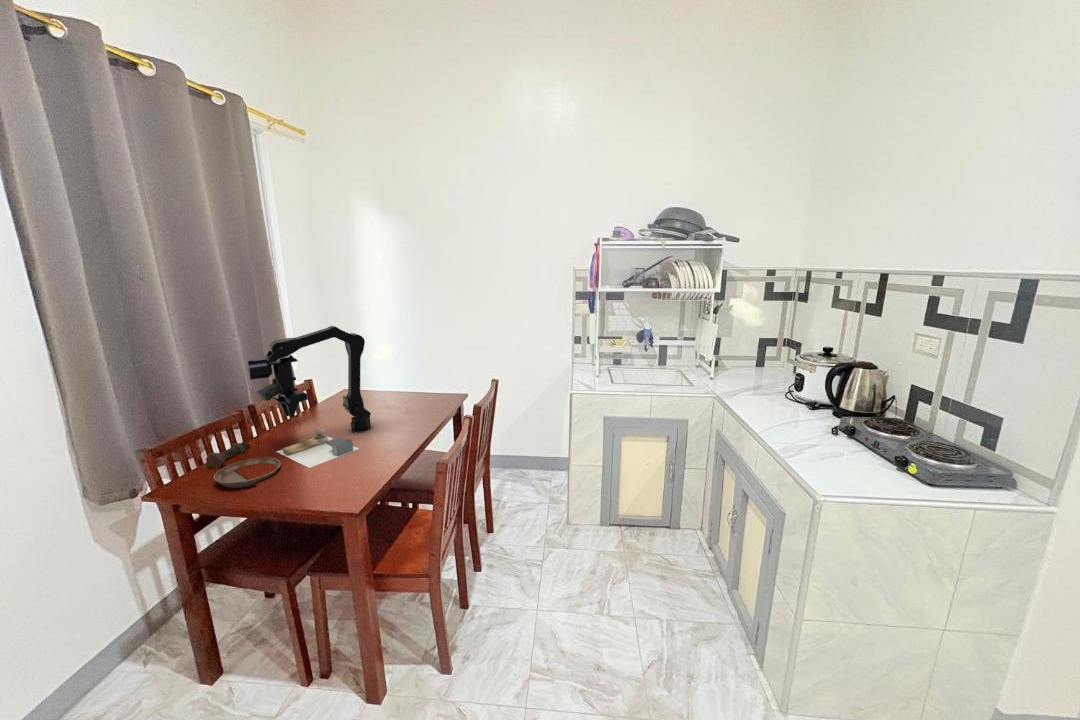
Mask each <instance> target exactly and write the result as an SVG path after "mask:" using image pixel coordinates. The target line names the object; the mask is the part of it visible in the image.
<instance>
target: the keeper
mask: <svg viewBox="0 0 1080 720" xmlns="http://www.w3.org/2000/svg"><path fill="white" fill-rule="evenodd" d="M327 445H329V446H332V453H333V455H335V456H339V457H341V456H340V455H342V456H344V455H343V454H345V453H347V454H349V453H348V452H350V451H352V452H354V451H353V445H354V444H353V440H352V439H349V438H344V437H342V436H338V437H335V438H333V439H332V440H329V441H327ZM350 453H351V452H350ZM345 455H346V454H345Z"/></svg>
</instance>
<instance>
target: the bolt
mask: <svg viewBox="0 0 1080 720" xmlns="http://www.w3.org/2000/svg"><path fill="white" fill-rule="evenodd" d="M250 448H251V443H250V442H247V441H241V442H236V443H235V442H234V443H232V444H231V445H230V448H228V449H226V450H223V451H221V452H211V453H208V454H207V456H206V459H205V461H206V465H207V466H208V467H209V468H210V467H220V466H222V465H223V466H224V463H225V462H226V461H227V460H229V459H231V458H233V457H235V456H237V455H239V454H242V453H244V452H246V450H248V449H250ZM223 466H222V467H223ZM220 468H221V467H220Z"/></svg>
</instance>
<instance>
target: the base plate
mask: <svg viewBox="0 0 1080 720" xmlns="http://www.w3.org/2000/svg"><path fill="white" fill-rule="evenodd" d="M324 435H325V434H324ZM325 436H327V438H328V441H329V440H332V439H334V438H333V437H330V436H328V435H325ZM358 450H360V447H359V448H358V447H355V446H353V451H350V452H348V453H345V454H343V455H340V456H335V455H333V453H332V446H329V445H327V442H326V443H323V444H318V445H315V446H312V447H309V448H306V449H303V450H301V451H298V452H295V453H292V454H289V455H287V454H285V453H283V448H282V449H280V450H277V451H275V452H276V453H278V454H280V455H282V456H284V457H286V458H288V459H289V460H290V459H291V460H292V461H294V462H296V463H298V464H300V465H303V466H304V467H307V468H309V469H310V468H312V467H313V468H314V467H315V466H318V465H321V464H324V463H327V462H329V461H332V460H334V459H336V458H339V457H341V456H342V457H343V456H345V455H347V454H350V453H352V452H355V451H358Z"/></svg>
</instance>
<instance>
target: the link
mask: <svg viewBox="0 0 1080 720" xmlns="http://www.w3.org/2000/svg"><path fill="white" fill-rule="evenodd" d="M324 433H325V430H324V429H322V428H321V429H316V430H314V435H316V436H314V437H313V438H310V439H306V440H303V441H300V442H298V443H295V444H292V445H288V446H286V447H285V446H284V447H282V449H283V453H285V454H287V455H289V454H292V453H295V452H298V451H301V450H303V449H306V448H309V447H312V446H315V445H318V444H323V443H326V442H327V441H328V438H327V436H328V435H326V436H325V434H324Z"/></svg>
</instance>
